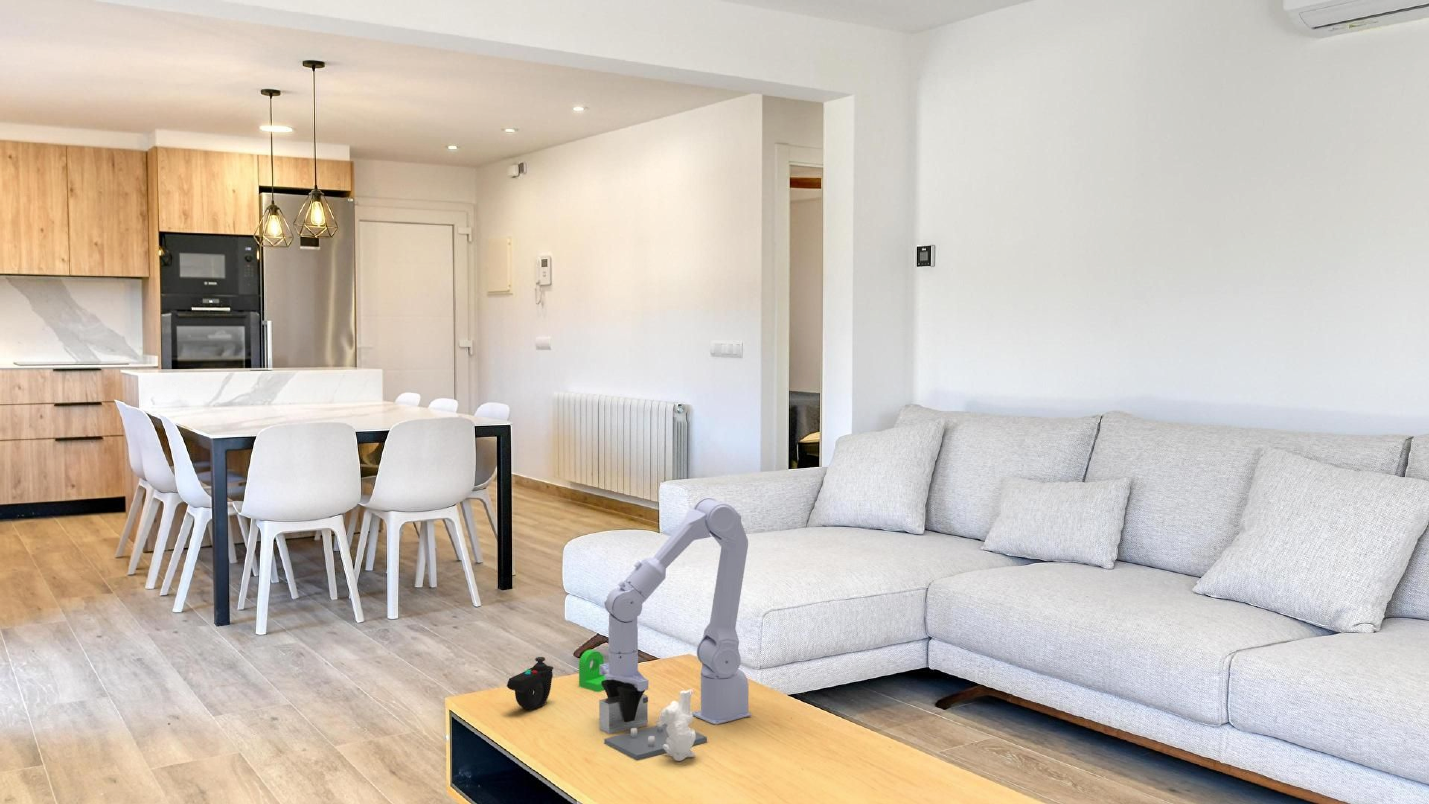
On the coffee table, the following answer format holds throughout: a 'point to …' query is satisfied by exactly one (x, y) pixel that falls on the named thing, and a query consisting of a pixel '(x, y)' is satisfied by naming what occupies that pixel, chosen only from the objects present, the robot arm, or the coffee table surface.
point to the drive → (620, 715)
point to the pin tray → (645, 741)
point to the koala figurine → (679, 727)
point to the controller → (532, 685)
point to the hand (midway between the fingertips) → (623, 718)
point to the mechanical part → (591, 671)
